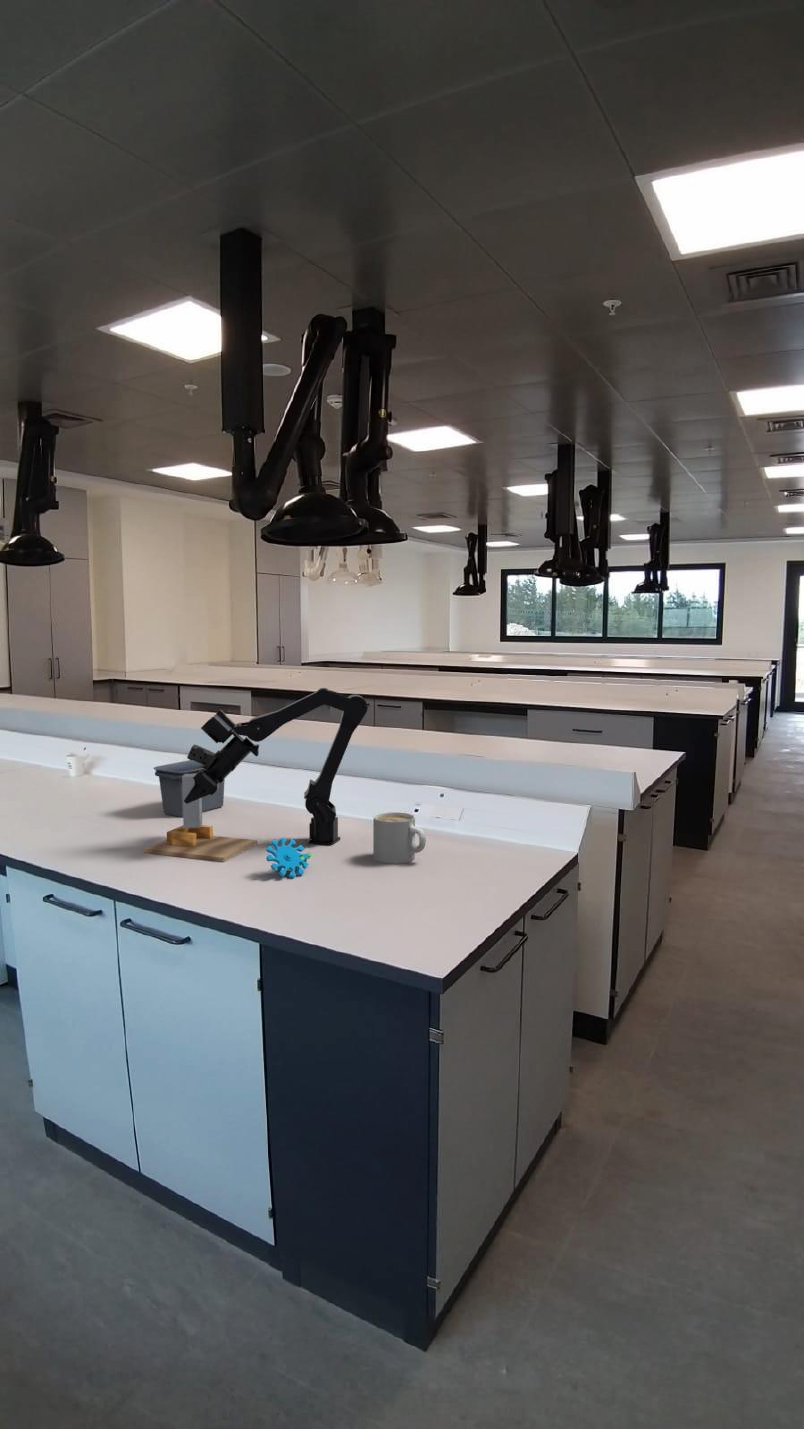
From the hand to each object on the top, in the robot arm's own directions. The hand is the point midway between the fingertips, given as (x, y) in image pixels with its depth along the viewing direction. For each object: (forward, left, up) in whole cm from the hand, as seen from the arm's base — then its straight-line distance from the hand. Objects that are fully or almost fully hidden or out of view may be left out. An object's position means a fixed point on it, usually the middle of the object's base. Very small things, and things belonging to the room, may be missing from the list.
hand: (186, 800), depth 190 cm
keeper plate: (-5, +2, -11) cm, 13 cm away
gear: (-34, +12, -12) cm, 38 cm away
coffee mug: (-54, -6, -12) cm, 56 cm away
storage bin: (+21, -32, -12) cm, 40 cm away
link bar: (-1, -1, -7) cm, 7 cm away
